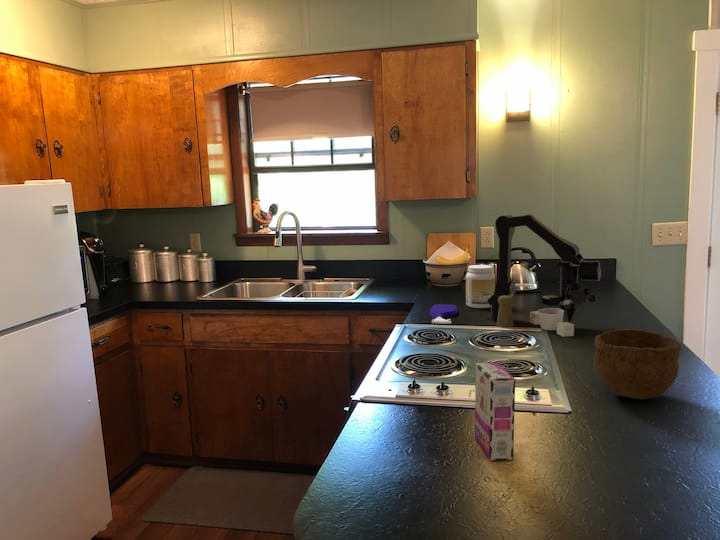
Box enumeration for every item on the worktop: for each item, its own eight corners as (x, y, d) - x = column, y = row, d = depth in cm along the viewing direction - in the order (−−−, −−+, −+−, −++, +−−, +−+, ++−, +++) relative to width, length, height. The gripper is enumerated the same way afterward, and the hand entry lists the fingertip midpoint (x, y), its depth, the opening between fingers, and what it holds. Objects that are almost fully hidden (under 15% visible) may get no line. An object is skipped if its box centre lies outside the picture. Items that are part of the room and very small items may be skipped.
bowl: (674, 417, 132) (677, 352, 130) (585, 402, 142) (587, 342, 140) (680, 391, 148) (684, 333, 145) (600, 379, 157) (602, 325, 155)
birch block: (530, 322, 222) (530, 311, 221) (539, 321, 223) (539, 311, 222) (535, 324, 218) (535, 314, 217) (545, 323, 219) (545, 313, 218)
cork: (513, 327, 214) (514, 297, 213) (496, 327, 215) (497, 297, 214) (513, 323, 220) (513, 294, 218) (496, 323, 221) (496, 294, 220)
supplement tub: (501, 306, 250) (501, 266, 248) (480, 310, 243) (480, 269, 241) (480, 301, 260) (480, 263, 258) (459, 305, 253) (459, 266, 251)
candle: (554, 323, 217) (554, 306, 216) (569, 329, 208) (569, 311, 207) (532, 327, 214) (532, 309, 213) (547, 332, 206) (547, 315, 205)
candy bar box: (515, 460, 114) (516, 378, 111) (489, 462, 113) (490, 379, 111) (497, 436, 125) (497, 360, 122) (473, 437, 124) (474, 362, 122)
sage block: (556, 334, 204) (557, 322, 204) (567, 333, 205) (567, 321, 205) (563, 336, 201) (563, 325, 200) (573, 335, 201) (574, 324, 201)
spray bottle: (431, 303, 246) (425, 318, 222) (458, 304, 244) (455, 319, 220) (431, 310, 246) (425, 326, 223) (458, 311, 244) (455, 326, 221)
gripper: (558, 285, 201) (558, 330, 203) (606, 280, 205) (605, 324, 207) (540, 280, 211) (540, 322, 214) (587, 276, 216) (586, 318, 218)
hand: (568, 322), depth 213 cm, fingers closed
